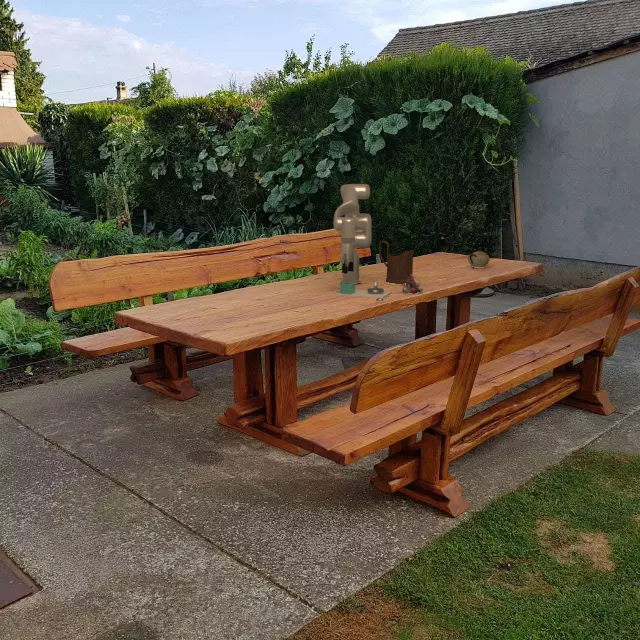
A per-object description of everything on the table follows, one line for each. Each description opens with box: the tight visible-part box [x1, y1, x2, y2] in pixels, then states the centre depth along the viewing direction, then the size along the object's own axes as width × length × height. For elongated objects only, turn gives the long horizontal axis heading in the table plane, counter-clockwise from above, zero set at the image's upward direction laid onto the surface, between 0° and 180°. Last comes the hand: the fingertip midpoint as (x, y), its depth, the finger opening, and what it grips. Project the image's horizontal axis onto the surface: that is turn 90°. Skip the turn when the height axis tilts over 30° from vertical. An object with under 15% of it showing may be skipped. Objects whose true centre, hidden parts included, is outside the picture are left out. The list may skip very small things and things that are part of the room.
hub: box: [366, 280, 385, 294], centre depth 375 cm, size 9×9×6 cm
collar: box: [339, 282, 356, 296], centre depth 374 cm, size 6×6×6 cm
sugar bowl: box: [467, 246, 491, 268], centre depth 478 cm, size 20×15×15 cm
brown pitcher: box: [378, 240, 414, 284], centre depth 417 cm, size 18×24×25 cm
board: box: [335, 288, 393, 300], centre depth 375 cm, size 19×27×2 cm
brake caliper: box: [401, 273, 424, 294], centre depth 383 cm, size 11×11×12 cm
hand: (347, 272), depth 371 cm, fingers open, 9 cm apart
